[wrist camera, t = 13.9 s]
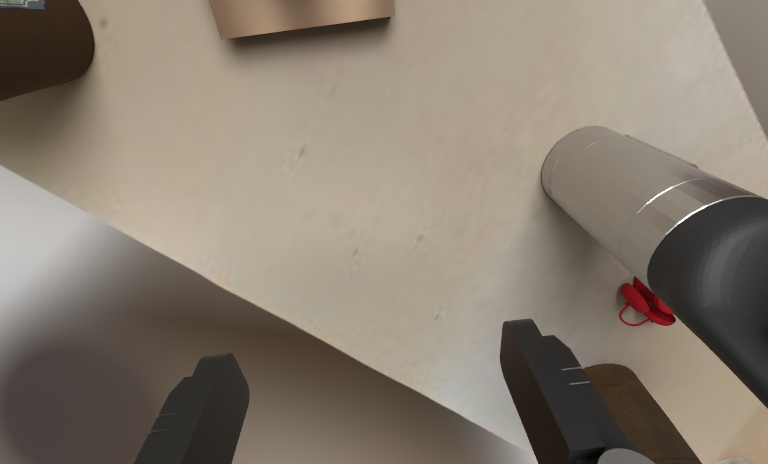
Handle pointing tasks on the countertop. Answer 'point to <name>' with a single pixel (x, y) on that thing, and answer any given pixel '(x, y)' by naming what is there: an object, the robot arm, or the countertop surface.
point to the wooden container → (640, 415)
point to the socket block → (291, 14)
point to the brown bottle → (42, 44)
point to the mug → (734, 461)
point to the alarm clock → (636, 300)
